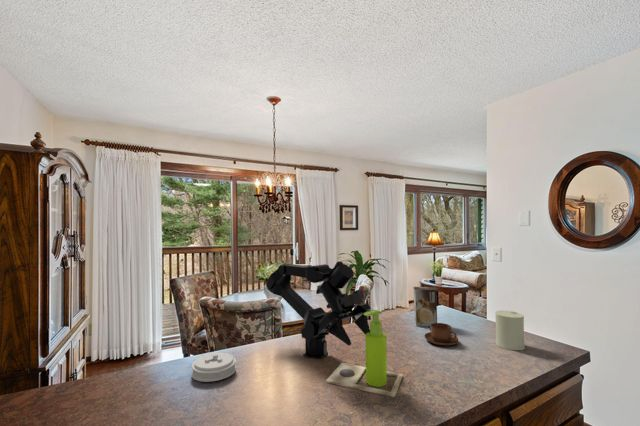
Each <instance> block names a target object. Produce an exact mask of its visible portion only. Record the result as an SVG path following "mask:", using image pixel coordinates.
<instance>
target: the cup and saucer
mask: <svg viewBox="0 0 640 426" xmlns="http://www.w3.org/2000/svg"><path fill="white" fill-rule="evenodd" d="M424 339H426V341H428V342H429V343H431V344H434V345H437V346H445V347H446V346H453V345H456V344H457V343H458V342H459V337H458V335H457V333H456V332H455V331H453V330H452V326H451V325H450V324H447V323H444V322H443V323H442V322H437V323H433V324H431V327H430V332H429V331H428V332H427V333H425V334H424Z"/></svg>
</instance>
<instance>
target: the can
mask: <svg viewBox="0 0 640 426" xmlns="http://www.w3.org/2000/svg"><path fill="white" fill-rule="evenodd" d="M494 314H495V344H496V345H497V346H498V347H499V348H502V349H506V350H508V351H509V350H510V351H523V350H525V348H526V347H525V328H524V327H525V319H524V318H525V316H524V314H522V313H520V312H517V311H512V310H496V311H495V312H494Z"/></svg>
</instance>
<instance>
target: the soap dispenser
mask: <svg viewBox="0 0 640 426" xmlns="http://www.w3.org/2000/svg"><path fill="white" fill-rule="evenodd" d="M381 314H382V311H381V310H377V309H375V310H374V309H373V310H372V309H371V310H370V311H367V312H365V313H363V315H365V316H368V317H371V316H372V321H370V322H369V329H370V332H369V333H366V335H365V367H366V371H365V382H366V384H367V383H368V384H367V385H368V386H371V387H374V388H375V387H377V388H380V387H384V386H386V385H387V383H388V375H387V371H388V366H387V365H388V363H387V362H388V360H387V359H388V357H387V346H388V345H387V344H388V343H387V334H386V333H383V331H382V330H383V323H382V321H380V318H379V317H380V315H381Z"/></svg>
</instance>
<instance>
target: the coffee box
mask: <svg viewBox="0 0 640 426" xmlns="http://www.w3.org/2000/svg"><path fill="white" fill-rule="evenodd" d="M437 299H438V298H437V289H436V288H435V287H433V286H413V314H414V315H413V316H414V318H413V319H414V320H413V321H414V324H415V326H416V327H429V326H431V324H433V323H438V303H437V302H438V300H437Z"/></svg>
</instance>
